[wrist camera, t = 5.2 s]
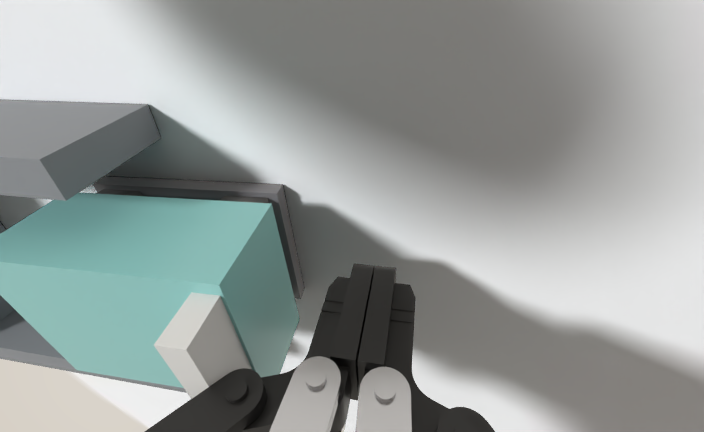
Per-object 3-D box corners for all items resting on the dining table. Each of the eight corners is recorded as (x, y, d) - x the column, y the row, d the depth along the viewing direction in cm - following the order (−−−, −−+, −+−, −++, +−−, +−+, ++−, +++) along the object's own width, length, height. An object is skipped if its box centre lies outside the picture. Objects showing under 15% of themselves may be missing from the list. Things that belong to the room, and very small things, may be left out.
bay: (147, 104, 11) (39, 159, 8) (232, 318, 18) (191, 393, 15) (-129, 95, 13) (-302, 136, 10) (43, 292, 20) (-28, 353, 17)
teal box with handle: (286, 180, 12) (184, 339, 7) (309, 291, 16) (251, 451, 11) (97, 171, 14) (-104, 299, 8) (157, 276, 17) (42, 410, 12)
